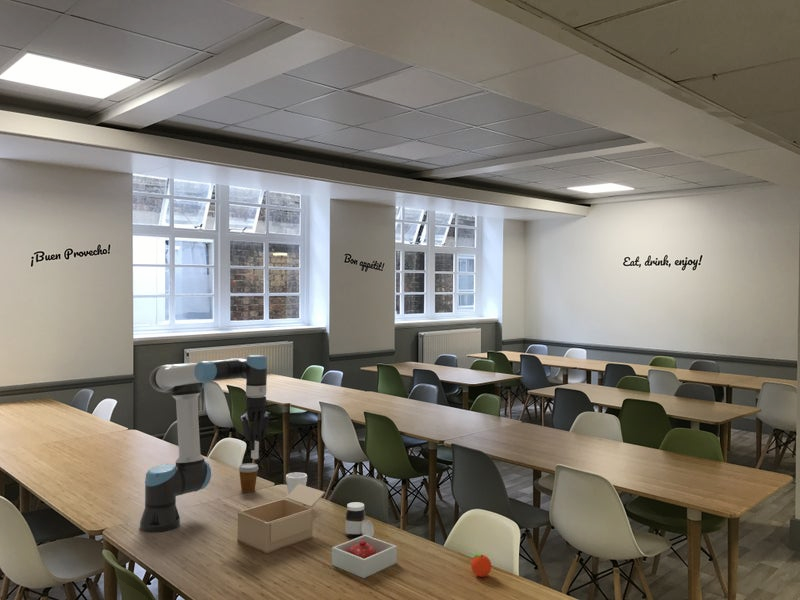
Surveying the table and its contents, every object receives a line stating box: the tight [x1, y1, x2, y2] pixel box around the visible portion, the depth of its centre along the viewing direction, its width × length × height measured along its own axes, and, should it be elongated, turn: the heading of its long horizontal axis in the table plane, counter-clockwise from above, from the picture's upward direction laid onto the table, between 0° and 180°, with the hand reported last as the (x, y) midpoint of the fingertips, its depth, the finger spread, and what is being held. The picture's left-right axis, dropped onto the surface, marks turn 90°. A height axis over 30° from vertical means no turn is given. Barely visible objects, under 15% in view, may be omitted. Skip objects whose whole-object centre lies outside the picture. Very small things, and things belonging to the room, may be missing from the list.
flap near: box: [223, 504, 265, 522], centre depth 230 cm, size 8×16×1 cm
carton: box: [236, 498, 314, 554], centre depth 241 cm, size 22×19×11 cm
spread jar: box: [345, 501, 375, 538], centre depth 246 cm, size 12×11×12 cm
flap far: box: [285, 484, 326, 508], centre depth 252 cm, size 8×16×1 cm, turn 50°
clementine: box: [470, 553, 492, 578], centre depth 212 cm, size 8×7×7 cm
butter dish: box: [348, 540, 377, 559], centre depth 219 cm, size 12×12×8 cm
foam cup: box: [285, 471, 308, 506], centre depth 282 cm, size 10×9×13 cm
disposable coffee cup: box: [238, 462, 259, 493], centre depth 301 cm, size 10×10×12 cm
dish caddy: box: [331, 535, 398, 579], centre depth 220 cm, size 17×16×6 cm
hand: (254, 458), depth 237 cm, fingers closed
